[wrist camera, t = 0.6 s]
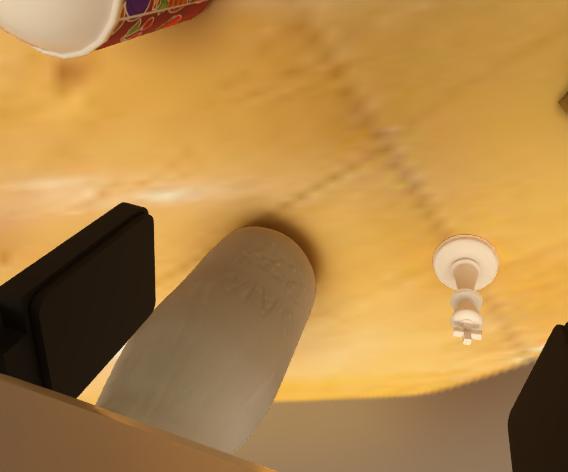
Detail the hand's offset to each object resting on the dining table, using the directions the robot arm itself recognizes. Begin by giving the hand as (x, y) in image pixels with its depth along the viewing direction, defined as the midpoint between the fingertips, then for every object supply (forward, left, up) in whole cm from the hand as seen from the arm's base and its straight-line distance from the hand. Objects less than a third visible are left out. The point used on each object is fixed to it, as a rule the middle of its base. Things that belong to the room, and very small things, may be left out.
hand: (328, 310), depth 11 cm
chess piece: (+9, +11, -27) cm, 31 cm away
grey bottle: (+19, -2, -27) cm, 33 cm away
